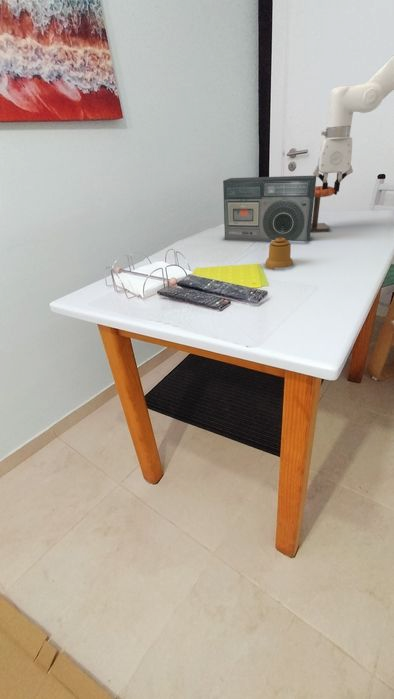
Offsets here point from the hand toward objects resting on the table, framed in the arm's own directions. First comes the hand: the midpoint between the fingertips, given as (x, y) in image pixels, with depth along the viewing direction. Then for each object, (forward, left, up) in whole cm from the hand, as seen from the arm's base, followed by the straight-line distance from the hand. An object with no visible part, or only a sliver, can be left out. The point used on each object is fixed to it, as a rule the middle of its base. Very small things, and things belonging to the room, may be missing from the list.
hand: (329, 193), depth 120 cm
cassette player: (+22, +12, -13) cm, 28 cm away
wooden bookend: (+4, 0, -12) cm, 13 cm away
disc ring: (+4, 0, +1) cm, 4 cm away
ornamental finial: (+19, +41, -13) cm, 47 cm away
